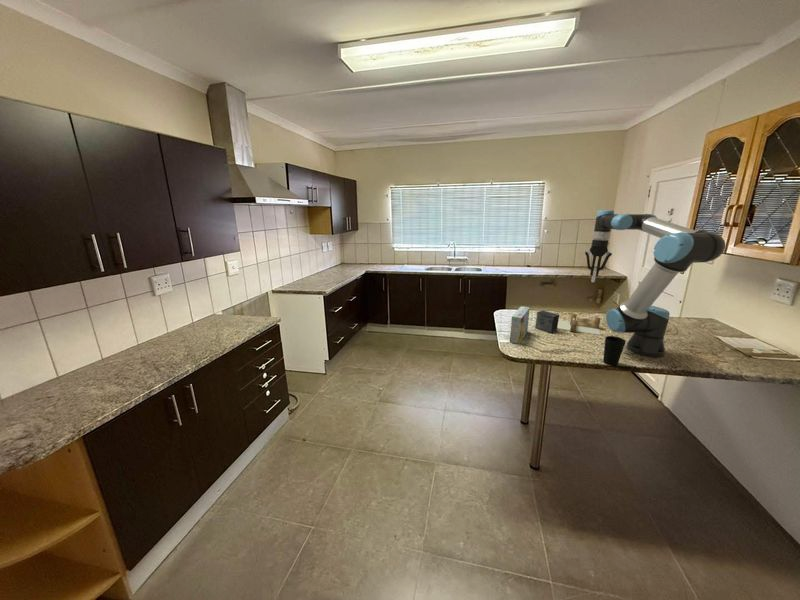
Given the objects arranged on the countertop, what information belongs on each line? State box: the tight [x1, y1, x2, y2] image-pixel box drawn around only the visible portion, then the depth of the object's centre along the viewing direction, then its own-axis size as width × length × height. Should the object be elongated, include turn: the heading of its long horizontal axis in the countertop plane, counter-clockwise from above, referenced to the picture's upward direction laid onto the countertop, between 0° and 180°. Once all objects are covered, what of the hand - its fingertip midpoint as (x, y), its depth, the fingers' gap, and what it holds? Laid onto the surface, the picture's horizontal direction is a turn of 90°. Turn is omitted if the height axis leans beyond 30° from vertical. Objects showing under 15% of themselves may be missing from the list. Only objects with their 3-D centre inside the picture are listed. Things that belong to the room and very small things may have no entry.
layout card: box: [557, 319, 601, 336], centre depth 188 cm, size 28×16×1 cm, turn 62°
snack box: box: [509, 306, 531, 345], centre depth 170 cm, size 21×6×15 cm, turn 147°
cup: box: [602, 335, 626, 367], centre depth 141 cm, size 8×8×12 cm
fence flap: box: [569, 318, 577, 333], centre depth 183 cm, size 12×3×6 cm, turn 152°
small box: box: [534, 310, 560, 334], centre depth 181 cm, size 11×6×10 cm, turn 34°
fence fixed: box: [569, 313, 602, 330], centre depth 187 cm, size 15×3×7 cm, turn 62°
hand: (592, 281), depth 174 cm, fingers closed
